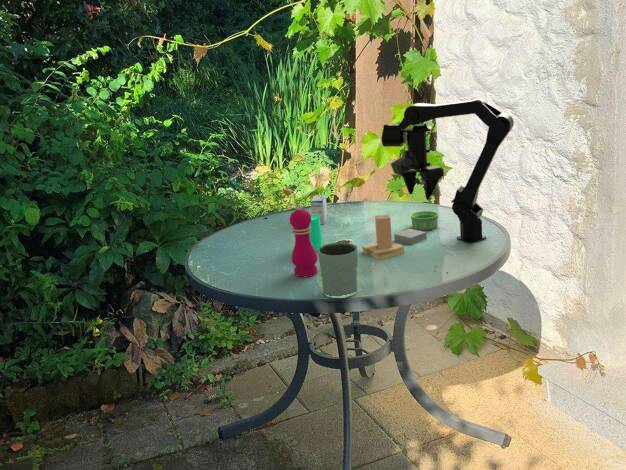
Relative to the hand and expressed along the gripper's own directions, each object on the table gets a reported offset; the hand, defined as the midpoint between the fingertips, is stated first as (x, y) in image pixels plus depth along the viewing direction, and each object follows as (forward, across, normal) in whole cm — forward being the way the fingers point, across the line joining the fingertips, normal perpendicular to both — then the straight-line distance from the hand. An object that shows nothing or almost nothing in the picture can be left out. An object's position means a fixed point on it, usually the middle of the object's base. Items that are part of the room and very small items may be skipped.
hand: (419, 196), depth 208 cm
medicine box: (+13, -39, -16) cm, 44 cm away
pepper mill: (+13, +6, -43) cm, 45 cm away
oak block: (+14, +5, -17) cm, 22 cm away
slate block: (+14, 0, -4) cm, 14 cm away
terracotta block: (+11, +5, -16) cm, 20 cm away
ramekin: (+13, -8, +7) cm, 17 cm away
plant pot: (+13, +25, -42) cm, 51 cm away
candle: (+13, -12, -32) cm, 37 cm away
